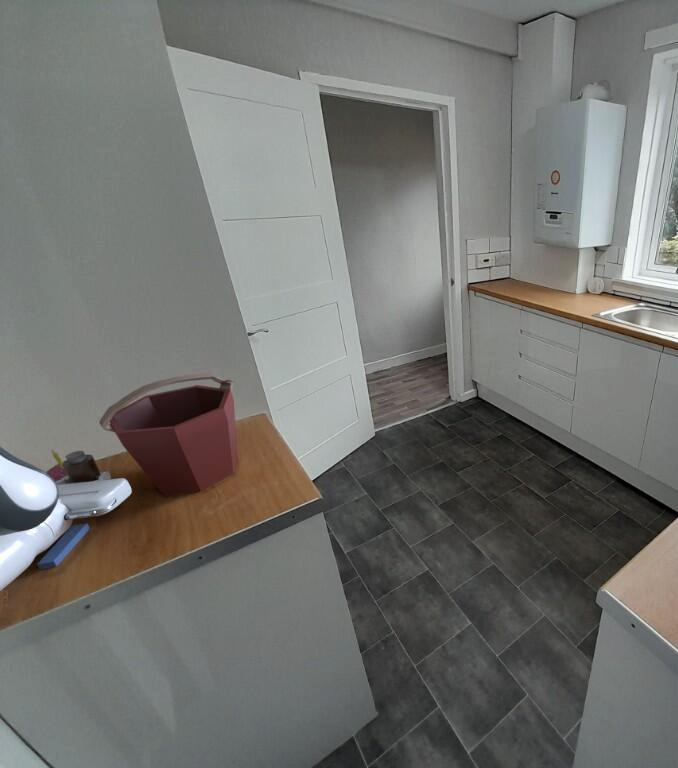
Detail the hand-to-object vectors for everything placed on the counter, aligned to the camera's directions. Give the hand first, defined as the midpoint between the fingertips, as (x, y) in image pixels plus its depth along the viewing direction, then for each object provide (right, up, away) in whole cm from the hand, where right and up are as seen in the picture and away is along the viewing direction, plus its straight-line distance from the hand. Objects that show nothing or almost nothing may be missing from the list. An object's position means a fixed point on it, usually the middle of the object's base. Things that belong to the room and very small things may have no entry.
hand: (89, 476), depth 85 cm
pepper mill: (0, -8, +2) cm, 8 cm away
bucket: (+11, -3, +15) cm, 19 cm away
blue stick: (+4, -13, -7) cm, 15 cm away
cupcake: (-12, -5, +9) cm, 16 cm away
